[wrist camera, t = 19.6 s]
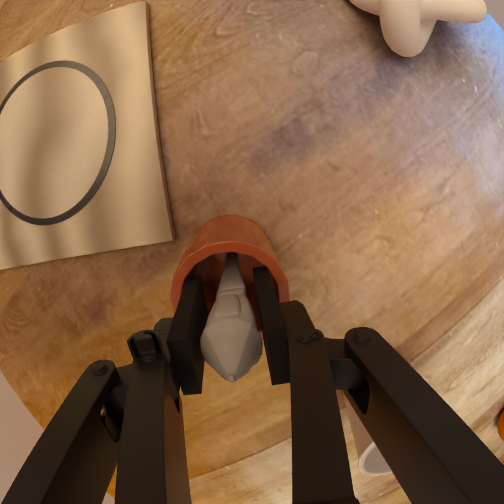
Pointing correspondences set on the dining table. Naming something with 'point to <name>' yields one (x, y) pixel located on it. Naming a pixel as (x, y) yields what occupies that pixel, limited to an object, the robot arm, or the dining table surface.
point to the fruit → (501, 426)
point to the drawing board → (81, 143)
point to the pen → (231, 327)
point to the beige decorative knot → (418, 19)
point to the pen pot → (215, 251)
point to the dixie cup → (366, 447)
